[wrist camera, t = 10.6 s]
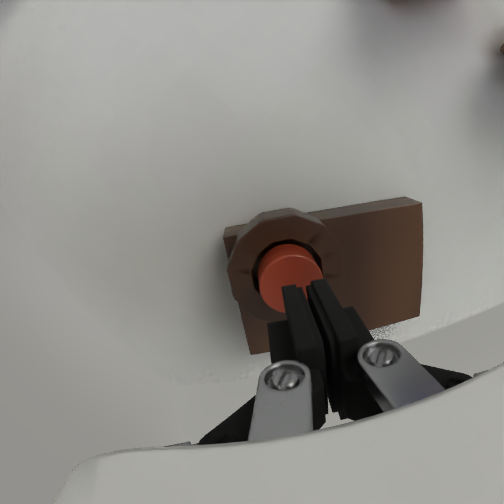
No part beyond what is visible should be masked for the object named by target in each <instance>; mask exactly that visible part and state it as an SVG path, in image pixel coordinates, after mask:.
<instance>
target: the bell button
mask: <svg viewBox="0 0 504 504" xmlns="http://www.w3.org/2000/svg"><path fill="white" fill-rule="evenodd" d="M318 279H323V276H322V272H321V270H320V268H319V266H318V265H317V263H316V262H315V260H314V258H313V257H312V255H311V254H310V253H309V252H308V251H307V250H306V249H304V248H303V247H301V246H298V245H294V244H283V245H279V246H276V247H274V248H272V249H271V250H269V251H268V252H267V253H266V254H265V255H264V256H263V258H262V259H261V261H260V264H259V267H258V280H259V289H260V294H261V296H262V298H263V300H264V301H265V303H266V304H267V305H268V306H269V307H271V308H272V309H274V310H276V311H279V312H282V313H285V308H284V302H283V295H282V289H281V287H282V286H287V285H292V284H296V287H302V288H303V291H304V293H305V296H306V299H307V293H306V286H307V285H311V283H310V282H311V281H313V280H318Z"/></svg>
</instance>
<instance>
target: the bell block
mask: <svg viewBox="0 0 504 504" xmlns="http://www.w3.org/2000/svg"><path fill="white" fill-rule="evenodd" d="M223 240H224V244H225V248H226V253H227V257H228V267H227V272H228V277H229V281H230V285H231V289H232V294H233V297H234V299H235V300H236V301H237V302H238V305H239V309H240V313H241V317H242V322H243V326H244V330H245V334H246V338H247V342H248V346H249V350H250V354H251V355H253V354H259V353H265V352H270V346H269V337H268V329H267V323H271V322H276V321H282V320H286V314H285V313H282V312H279V311H276V310H274V309H272V308H271V307H269V306H268V305H267V304H266V303H265V301H264V300H263V298H262V296H261V294H260V289H259V280H258V267H259V264H260V261H261V259H262V258H263V256H264V255H265V254H266V253H267V252H268V251H269V250H271V249H272V248H274V247H276V246H279V245H283V244H294V245H298V246H301V247H303V248H304V249H306V250H307V251H308V252H309V253H310V254H311V255H312V257H313V258H314V260H315V262H316V263H317V265H318V266H319V268H320V270H321V272H322V276H323V278H325V279H326V281H327V282H328V284H329V286H330V287H331V289H332V291H333V292H334V294H335V296H336V297H337V299H338V301H339V303H340V304H341V306H342V308H346V307H350V306H353V307H354V308H355V310H356V312H357V313H358V315H359V316H360V318H361V319H362V321H363V323H364V324H365V326H366V327H367V329H368V330H372V329H375V328H379V327H383V326H386V325H390V324H394V323H397V322H401V321H404V320H407V319H411V318H414V317H417V316H419V315H420V303H421V289H422V269H423V215H422V203H421V202H419V201H416V200H413V199H410V198H407V197H401V198H394V199H388V200H381V201H375V202H369V203H362V204H356V205H350V206H344V207H338V208H332V209H326V210H320V211H314V212H309V213H303V212H300V211H298V210H295V209H292V208H285V209H280V210H274V211H268V212H263V213H261V214H259V215H257V216H256V217H255V218H254V219H253V220H251V221H250V222H249V223H248V224H243V225H238V226H232V227H227V228H225V233H224V237H223Z"/></svg>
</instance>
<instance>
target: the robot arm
mask: <svg viewBox="0 0 504 504" xmlns="http://www.w3.org/2000/svg"><path fill="white" fill-rule="evenodd" d="M310 283H311V285H307V286H306V293H307V299H306V296H305V293H304V291H303V288H302V287H296V284H292V285H287V286H282V287H281V289H282V295H283V302H284V308H285V314H286V320H282V321H276V322H271V323H267V329H268V337H269V346H270V355H271V363H272V364H271V365H269V366H268V367H266V368H265V369H264V370H263V371H262V372H261V374H260V377H259V380H258V387H257V393H256V395H255V396H254V397H253V398H251V399H250V400H249V401H248V402H247V403H246V404H244V405H243V406H242V407H241V408H240V409H238V410H237V411H236V412H235V413H233V414H232V415H231V416H229V417H228V418H227V419H226V420H224V421H223V422H222V423H221V424H219V425H218V426H217V427H215V428H214V429H213V430H211V431H210V432H209V433H208V434H206V435H205V436H204V437H203V438H202V439H201V440H200V441H199V443H197V444H192V445H191V443H190V442H185V443H180V444H175V445H169V446H164V447H146V448H133V449H126V450H118V451H113V452H109V453H105V454H101V455H97V456H94V457H92V458H89V459H87V460H85V461H83V462H81V463H80V464H78V465H77V466H76V467H75V468H74V469H73V470H72V472H71V473H70V474H69V475H68V477H67V478H66V480H65V481H64V483H63V485H62V487H61V488H60V490H59V492H58V494H57V496H56V498H55V501H54V503H53V504H504V362H503V363H501V364H500V365H498V366H496V367H494V368H492V369H490V370H487V371H483V372H479V373H475V374H474V376H473V378H472V377H471V376H469V375H467V374H464V373H459V372H454V371H450V370H444V369H440V368H436V367H431V366H427V365H422V364H420V363H419V362H418V361H417V360H416V359H415V358H414V357H413V356H412V355H411V354H410V353H409V352H408V351H407V350H406V349H405V348H403V346H401V345H400V344H399V343H397V342H395V341H392V340H386V339H380V340H374V339H373V337H372V335H371V334H370V332H369V331H368V329H367V327H366V326H365V324H364V323H363V321H362V319H361V318H360V316H359V315H358V313H357V312H356V310H355V308H354V307H353V306H350V307H346V308H342V306H341V304H340V303H339V301H338V299H337V297H336V296H335V294H334V292H333V291H332V289H331V287H330V286H329V284H328V282H327V281H326V279H325V278H323V279H318V280H313V281H311V282H310ZM328 399H329V402H330V406H331V409H332V412H338V413H339V416H340V419H341V420H343V419H346V418H349V419H351V420H354V421H353V422H349V423H345V424H341V425H337V426H332V427H328V428H323V429H320V428H321V427H322V426H323V424H324V423H325V422H326V418H325V414H328Z"/></svg>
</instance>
